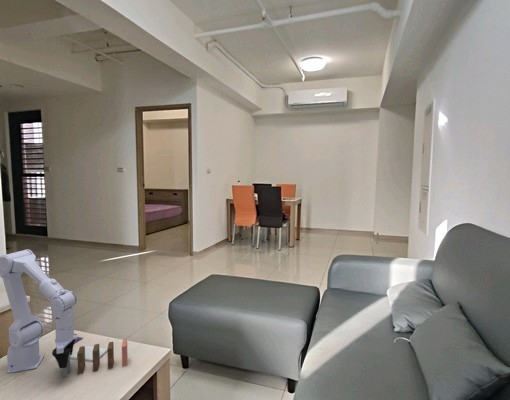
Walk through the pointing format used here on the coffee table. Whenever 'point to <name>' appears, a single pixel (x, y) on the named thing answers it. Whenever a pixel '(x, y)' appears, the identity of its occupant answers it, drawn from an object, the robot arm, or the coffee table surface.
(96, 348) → the domino
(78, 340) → the snack package
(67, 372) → the domino
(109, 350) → the domino
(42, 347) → the coffee table surface
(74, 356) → the hard drive
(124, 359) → the domino
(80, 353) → the domino
